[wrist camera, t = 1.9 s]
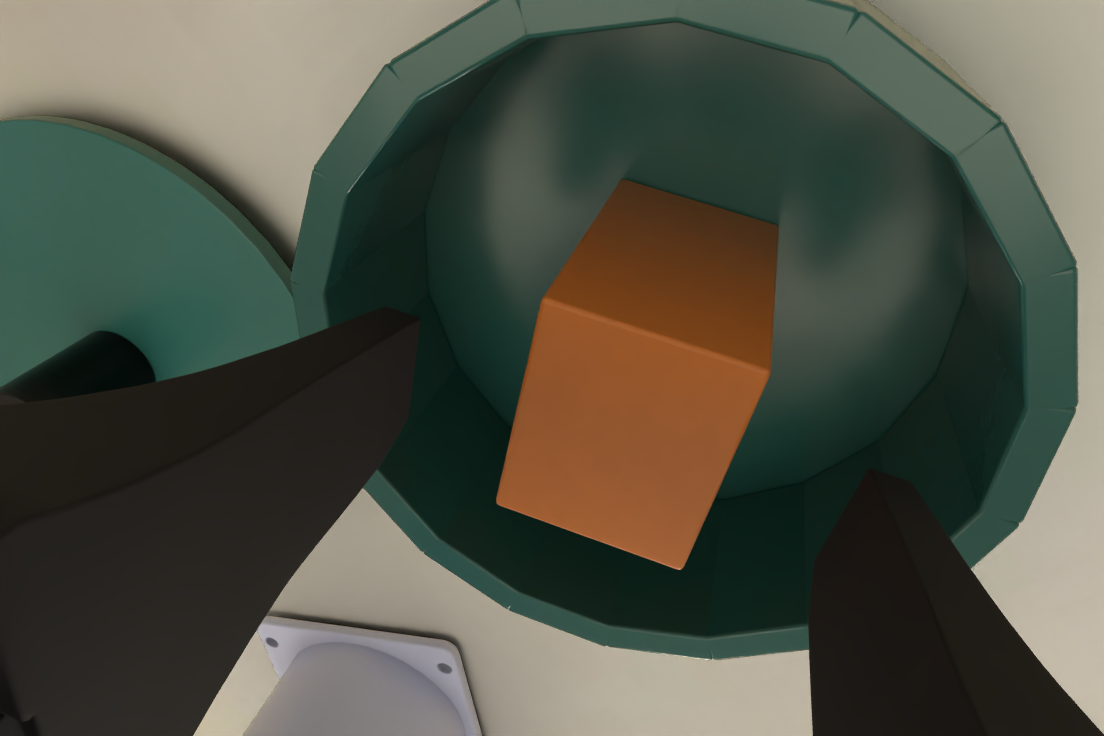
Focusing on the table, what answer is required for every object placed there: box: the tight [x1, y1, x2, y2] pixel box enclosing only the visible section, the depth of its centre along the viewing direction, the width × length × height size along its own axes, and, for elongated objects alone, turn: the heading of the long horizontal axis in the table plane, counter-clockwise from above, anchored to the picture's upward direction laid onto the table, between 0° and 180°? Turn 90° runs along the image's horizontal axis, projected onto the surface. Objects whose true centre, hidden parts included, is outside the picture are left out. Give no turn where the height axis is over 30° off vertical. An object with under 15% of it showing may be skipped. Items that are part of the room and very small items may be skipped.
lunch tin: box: [290, 0, 1078, 660], centre depth 15 cm, size 13×13×5 cm
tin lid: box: [0, 116, 300, 405], centre depth 21 cm, size 14×14×4 cm
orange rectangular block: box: [496, 179, 779, 570], centre depth 14 cm, size 4×3×6 cm
